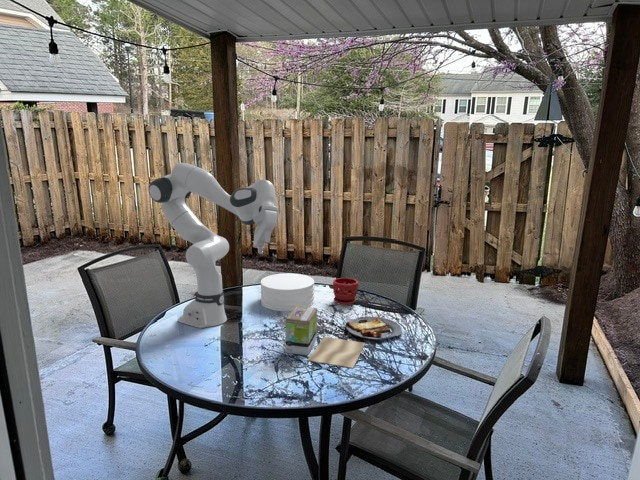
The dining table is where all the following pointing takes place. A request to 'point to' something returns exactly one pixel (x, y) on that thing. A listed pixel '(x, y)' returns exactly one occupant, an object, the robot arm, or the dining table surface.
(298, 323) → the tea box
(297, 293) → the plate stack
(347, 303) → the plant pot
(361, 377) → the dining table surface
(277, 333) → the dining table surface
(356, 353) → the cloth mat
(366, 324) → the food plate
